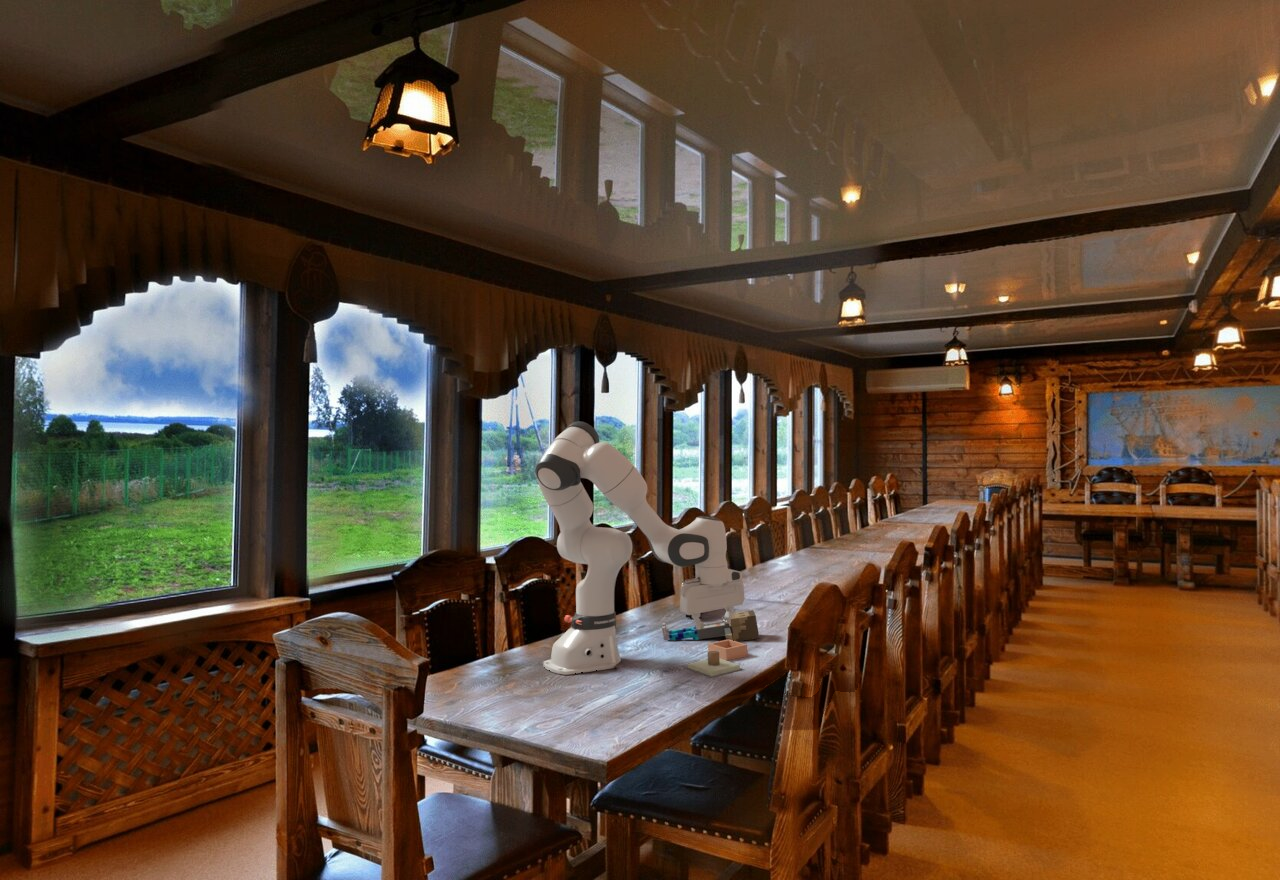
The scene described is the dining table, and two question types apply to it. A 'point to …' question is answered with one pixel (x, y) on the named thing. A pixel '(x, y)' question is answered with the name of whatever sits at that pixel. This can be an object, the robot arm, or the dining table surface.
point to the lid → (713, 665)
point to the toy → (719, 629)
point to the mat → (715, 675)
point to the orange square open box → (728, 649)
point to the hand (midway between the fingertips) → (713, 626)
